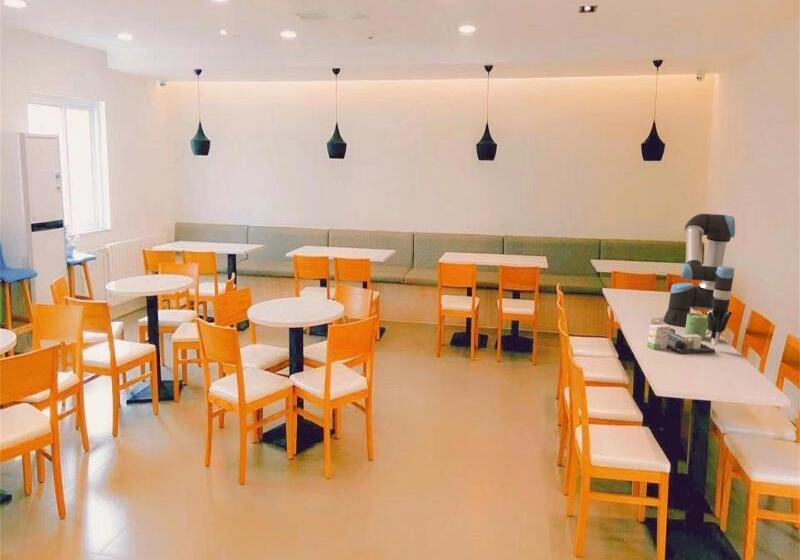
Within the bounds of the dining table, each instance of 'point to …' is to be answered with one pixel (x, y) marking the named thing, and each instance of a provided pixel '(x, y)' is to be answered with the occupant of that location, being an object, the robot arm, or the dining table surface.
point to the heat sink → (675, 341)
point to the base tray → (682, 351)
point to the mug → (696, 325)
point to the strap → (680, 338)
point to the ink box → (658, 334)
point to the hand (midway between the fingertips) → (714, 344)
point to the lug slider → (694, 340)
